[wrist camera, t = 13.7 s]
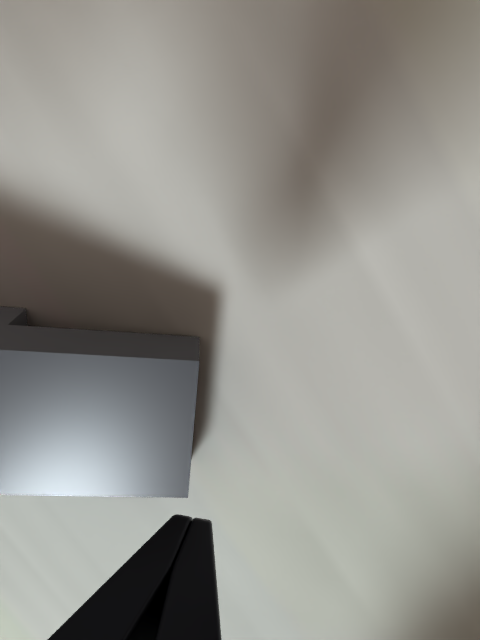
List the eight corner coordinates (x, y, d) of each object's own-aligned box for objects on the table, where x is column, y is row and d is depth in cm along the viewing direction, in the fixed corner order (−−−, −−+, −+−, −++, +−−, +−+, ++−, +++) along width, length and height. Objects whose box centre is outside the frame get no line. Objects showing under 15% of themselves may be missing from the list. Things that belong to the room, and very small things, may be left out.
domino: (199, 360, 11) (-116, 343, 10) (188, 497, 13) (-81, 493, 12) (199, 337, 13) (-77, 319, 12) (189, 463, 15) (-51, 456, 14)
